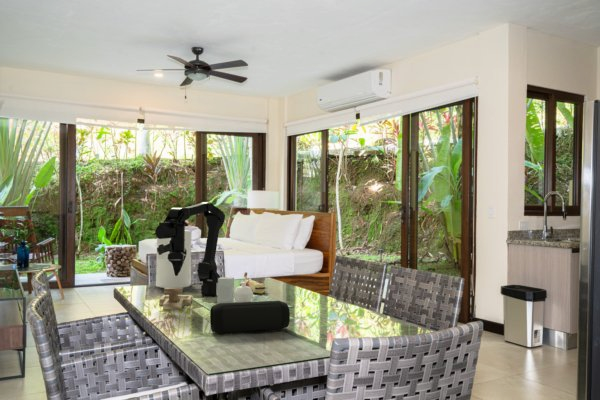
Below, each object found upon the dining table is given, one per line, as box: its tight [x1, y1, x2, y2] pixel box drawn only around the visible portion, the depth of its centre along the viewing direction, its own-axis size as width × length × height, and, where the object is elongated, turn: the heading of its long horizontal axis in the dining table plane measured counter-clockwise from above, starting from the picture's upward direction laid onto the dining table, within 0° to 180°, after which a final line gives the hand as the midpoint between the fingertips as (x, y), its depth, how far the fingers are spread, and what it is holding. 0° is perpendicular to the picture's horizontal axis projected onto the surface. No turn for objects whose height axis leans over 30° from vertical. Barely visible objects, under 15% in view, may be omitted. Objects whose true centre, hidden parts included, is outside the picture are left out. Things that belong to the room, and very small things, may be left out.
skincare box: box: [216, 276, 235, 304], centre depth 202 cm, size 6×4×12 cm
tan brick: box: [163, 287, 184, 303], centre depth 199 cm, size 7×3×8 cm, turn 97°
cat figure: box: [239, 272, 268, 294], centre depth 243 cm, size 10×9×25 cm
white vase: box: [233, 281, 254, 302], centre depth 192 cm, size 8×8×12 cm
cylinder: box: [155, 229, 192, 289], centre depth 253 cm, size 17×17×28 cm
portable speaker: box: [209, 300, 291, 335], centre depth 165 cm, size 26×10×10 cm, turn 109°
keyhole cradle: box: [158, 294, 193, 310], centre depth 204 cm, size 12×18×2 cm
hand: (177, 273), depth 209 cm, fingers open, 9 cm apart
